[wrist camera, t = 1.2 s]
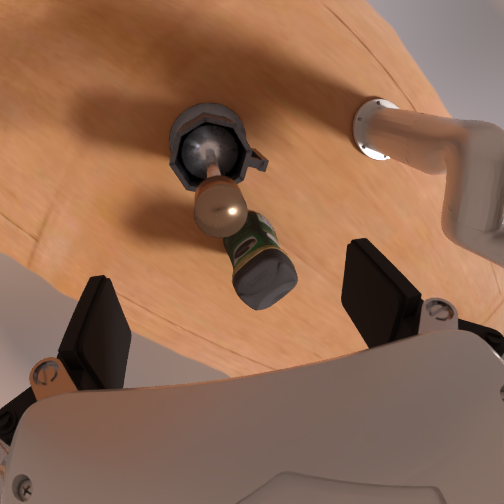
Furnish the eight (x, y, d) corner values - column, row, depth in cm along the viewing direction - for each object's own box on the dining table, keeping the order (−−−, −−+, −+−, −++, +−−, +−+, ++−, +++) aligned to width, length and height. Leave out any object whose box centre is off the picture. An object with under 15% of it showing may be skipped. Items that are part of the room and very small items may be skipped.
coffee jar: (243, 262, 61) (260, 323, 45) (216, 237, 58) (224, 295, 42) (280, 231, 59) (310, 285, 43) (254, 204, 56) (278, 251, 40)
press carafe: (260, 115, 48) (287, 122, 33) (240, 183, 53) (257, 219, 39) (180, 96, 44) (169, 93, 29) (163, 167, 49) (147, 197, 35)
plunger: (243, 132, 36) (295, 171, 17) (229, 183, 39) (260, 273, 20) (189, 119, 34) (174, 142, 15) (176, 172, 37) (153, 255, 18)
